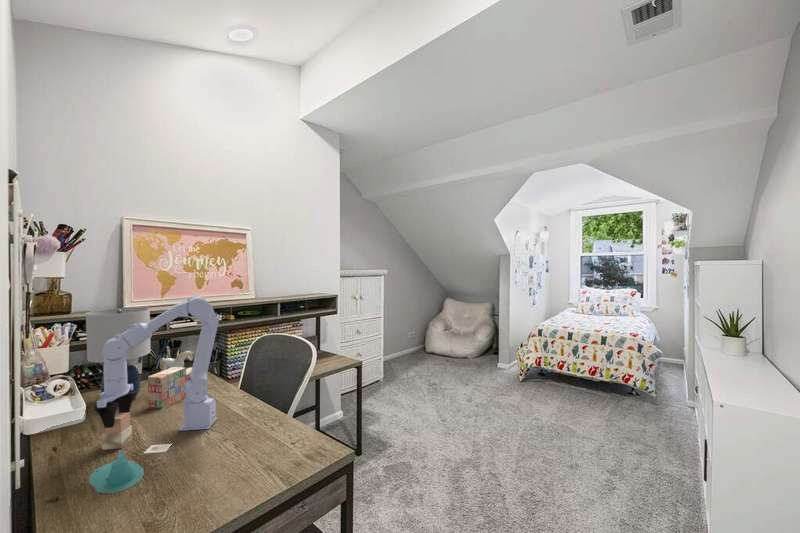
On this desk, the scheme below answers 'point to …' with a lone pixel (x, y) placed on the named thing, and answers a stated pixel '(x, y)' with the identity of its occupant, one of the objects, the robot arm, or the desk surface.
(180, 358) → the unicorn figurine
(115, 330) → the lamp
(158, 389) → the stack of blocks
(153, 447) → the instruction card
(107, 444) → the birch base block
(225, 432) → the desk surface
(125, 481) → the teal plastic funnel
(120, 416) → the terracotta cube
